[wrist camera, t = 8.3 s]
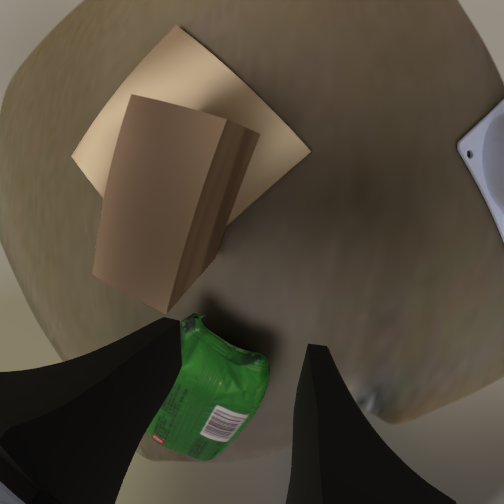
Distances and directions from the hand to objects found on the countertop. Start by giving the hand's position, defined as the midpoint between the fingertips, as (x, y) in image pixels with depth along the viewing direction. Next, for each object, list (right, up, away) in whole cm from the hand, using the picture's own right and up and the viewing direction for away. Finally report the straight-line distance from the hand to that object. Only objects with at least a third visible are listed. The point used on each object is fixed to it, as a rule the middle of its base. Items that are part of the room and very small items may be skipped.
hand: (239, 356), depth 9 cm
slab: (-2, +7, +8) cm, 11 cm away
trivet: (-5, +10, +8) cm, 13 cm away
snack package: (-3, -7, +14) cm, 16 cm away
